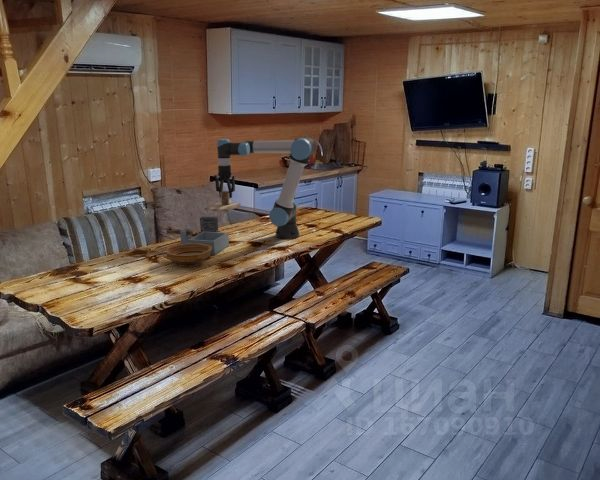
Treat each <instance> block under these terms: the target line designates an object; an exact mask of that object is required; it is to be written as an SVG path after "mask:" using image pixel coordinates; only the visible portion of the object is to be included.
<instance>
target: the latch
mask: <svg viewBox="0 0 600 480" xmlns="http://www.w3.org/2000/svg"><path fill="white" fill-rule="evenodd" d="M180 231H186V235H191V236H192V235H193V234H194V232H193V230H185V229H176V228H175V229H174V228H172V227H168V229H166V234H167V235H170V234H172V235H180Z"/></svg>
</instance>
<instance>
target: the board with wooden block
mask: <svg viewBox="0 0 600 480" xmlns="http://www.w3.org/2000/svg"><path fill="white" fill-rule="evenodd" d="M228 193H229V190H222V192H221V197H222V203H221V202H215V203H213V204H211V205H209V206H207V207H205V208H204V211H206V212H207V211H211V212H226V213H227V212H228V213H229V212H230V211H232V210H234V209H236V208H239V207H240V206H241V203H235V202H231V203H228ZM221 197H220V198H221Z"/></svg>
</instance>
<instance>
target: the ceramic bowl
mask: <svg viewBox="0 0 600 480" xmlns="http://www.w3.org/2000/svg"><path fill="white" fill-rule="evenodd" d="M212 248H213V247H212V246H211V245H206V244H199V243H187V244H181V243H180V244H175V245H172V246H169V247H167V248H165V251H164V252H165V254H166V255H163V259H166V260H169V261H171V262H173V263H175V264H178V265H179V266H181V267H194V266H198V265H200V264H201V262H203V261H206V260H207V259H208V258H210V256H211V255H210V253H211V250H212Z"/></svg>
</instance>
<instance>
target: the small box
mask: <svg viewBox="0 0 600 480" xmlns="http://www.w3.org/2000/svg"><path fill="white" fill-rule="evenodd" d="M218 219H219V218H218V216H201V217H200V218H199V224H200V225H199V227H200V233H202V232H203V231H205V232H219V222H218Z"/></svg>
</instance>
